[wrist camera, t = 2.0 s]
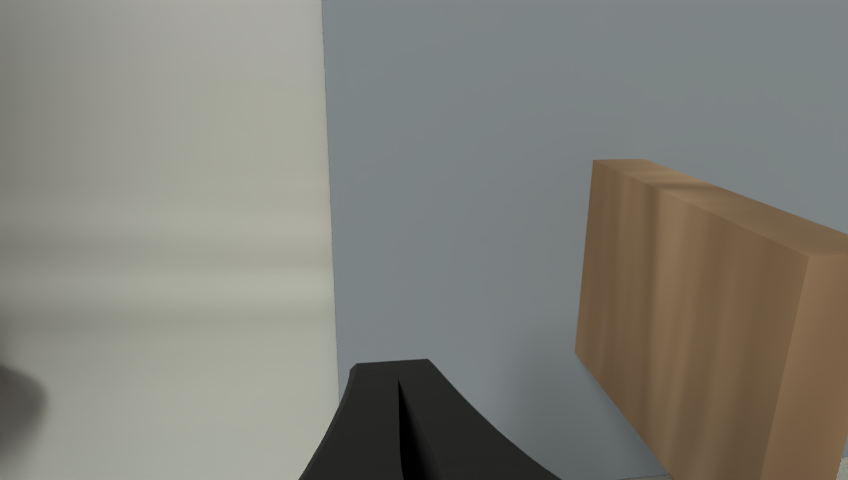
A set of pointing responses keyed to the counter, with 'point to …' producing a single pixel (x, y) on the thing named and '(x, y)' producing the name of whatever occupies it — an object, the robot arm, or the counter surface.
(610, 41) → the rubber mat
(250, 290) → the counter surface
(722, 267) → the walnut tile
